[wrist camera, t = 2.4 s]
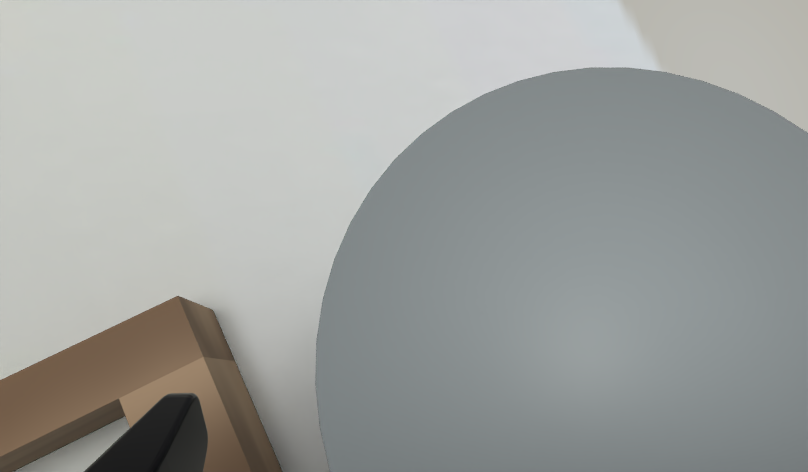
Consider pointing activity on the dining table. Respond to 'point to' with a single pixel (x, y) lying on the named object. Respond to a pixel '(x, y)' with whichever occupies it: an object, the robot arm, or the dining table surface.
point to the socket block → (135, 389)
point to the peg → (576, 287)
